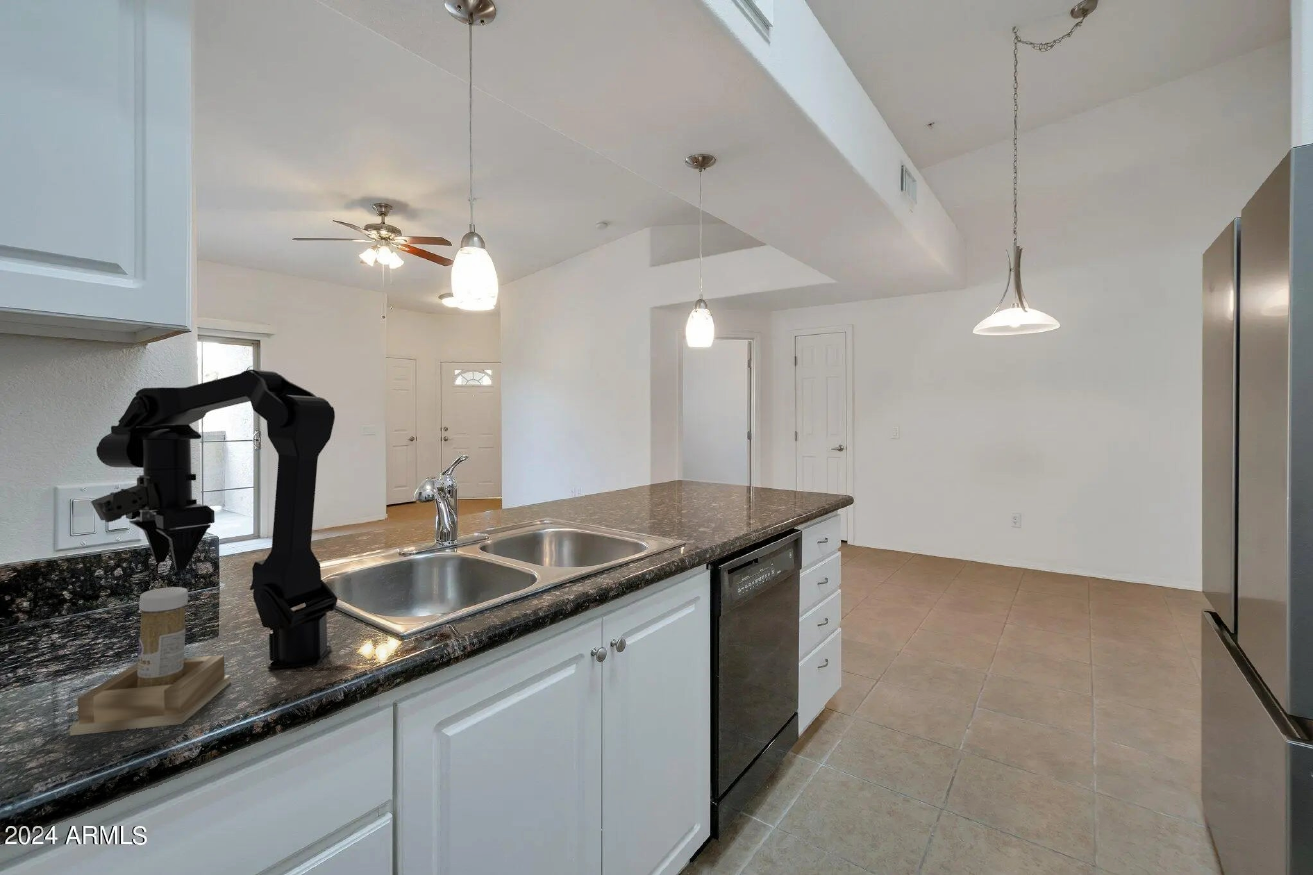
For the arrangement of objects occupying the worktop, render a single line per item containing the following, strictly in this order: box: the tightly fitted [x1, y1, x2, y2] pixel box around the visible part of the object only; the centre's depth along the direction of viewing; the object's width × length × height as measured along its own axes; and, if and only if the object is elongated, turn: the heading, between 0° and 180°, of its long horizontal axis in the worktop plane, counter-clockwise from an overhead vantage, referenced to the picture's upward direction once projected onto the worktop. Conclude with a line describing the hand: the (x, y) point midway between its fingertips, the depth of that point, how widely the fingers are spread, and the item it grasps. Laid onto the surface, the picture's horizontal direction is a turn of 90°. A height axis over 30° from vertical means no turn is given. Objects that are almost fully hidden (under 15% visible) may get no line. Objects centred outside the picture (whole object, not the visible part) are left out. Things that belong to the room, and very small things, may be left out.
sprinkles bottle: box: [137, 586, 189, 688], centre depth 70 cm, size 5×5×13 cm
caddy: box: [69, 654, 232, 737], centre depth 70 cm, size 11×11×4 cm
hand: (170, 566), depth 89 cm, fingers open, 9 cm apart
